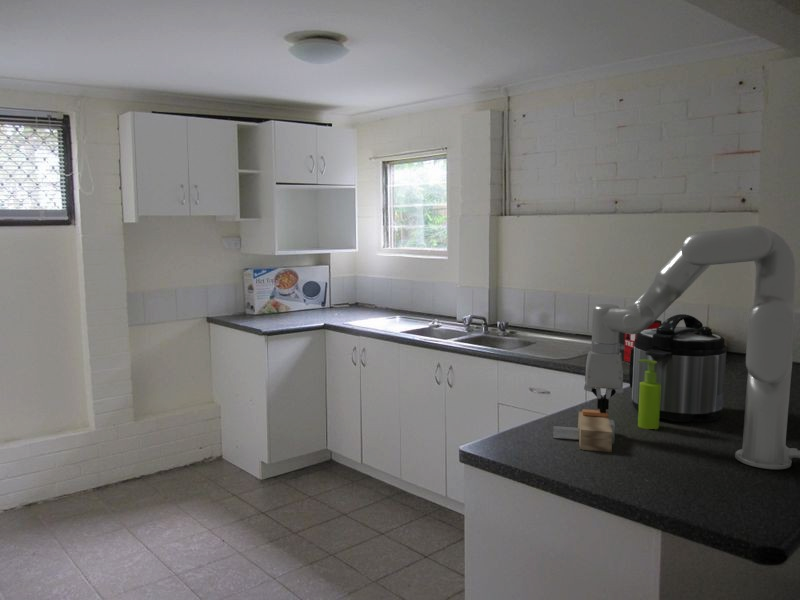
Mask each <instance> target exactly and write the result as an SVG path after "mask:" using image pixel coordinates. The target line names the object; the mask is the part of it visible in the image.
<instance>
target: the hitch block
mask: <svg viewBox="0 0 800 600" xmlns="http://www.w3.org/2000/svg"><path fill="white" fill-rule="evenodd" d="M577 416H578V417H577V420H578V421H577V428H580V433H579V440H578V441H579V449H582V451H583V450H585V451H593V450H594V451H595V452H596V451H597V452H606V453H607V452H608V453H612V449H613V448H612V446H613V444H612V429H611V425H610V422H609V420H610V419H609V416H608V417H601V416H587V415H583V413H582V411H578V415H577Z"/></svg>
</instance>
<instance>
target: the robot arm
mask: <svg viewBox="0 0 800 600" xmlns="http://www.w3.org/2000/svg"><path fill="white" fill-rule="evenodd" d="M747 262H754V264H755V269H756V270H755V271H756V273H755V289H754V302H753V305H752V307H751V309H750V311H749V315H748V319H747V321H748V322H747V323H748V324H747V332H746V333H747V334H746V335H747V337H746V348H745V349H746V351H745V368H746V370H747V377H746V379H747V380H746V393H745V405H744V416H743V417H744V421H743V436H742V447H741V449H738V450H737V451H735V453H734V457H735V459H736V460H737V461H739V462H741V463H743V464H744V465H747V466H751V467H755V468H759V469H766V470H785V469H788V468H790V467H792V459H794V458H795V459H800V450H798V448H794V447H791V448H790V447H788V446H787V445H786V442H787V433H788V432H787V430H788V417H789V404H790V393H791V379H792V370H793V369H792V368H793V345H794V344H793V343H794V342H793V341H794V328H795V320H796V319H795V318H796V314H795V313H796V311H795V290H796V286H795V285H796V283H795V282H796V262H795V257H794V254H793V251H792V249H791V247H790V245H789V244H788V243H787V242H786V240H785V239H784V238H783V237H782V236H780V234H778V233H776V232H774V231H772V230H771V229H769V228H766V227H765V226H761V225H748V226H747V225H746V226H740V227H731V228H724V229H715V230H706V231H705V230H703V231H700V230H699V231H694V232H692V233H690V234H689V235H688V236H687V237H685V239H684V240H683V241H682V245H681V246H680V248H679V249H678V250H677V251H676V252H675V254H673V255H672V256H671V258H669V260H668V261H667V262H666V263H665V264H664V265H663V266H662V267H660V269H659V270H658V271H657V273H656V274H655V277H654V279H653V282H651V284H650V286H649V287H648V288H647V289H646V290H645V292H644V293H643V294H642V295H641V296H640V297H639V298H638V299H637V300H636V301H635V302H634V303H633V304H632V305H630V306H627V307H620V306H619V305H617V304H609V303H603V304H602V303H600V304H596V305H594V306H593V308H592V323H591V324H592V326H591V327H592V328H591V350H589V351H587V352H588V353H587V357H586V363H585V375H584V381H585V383H584V387H583V389H584V391H587V392H589V393H590V392H591V393H593V394H594V396H595V397H596V398H597V401H596V402H597V403H596V407H597V409H596V410H600V413H602V412H604V413H606V411H607V410H609V407H610V405H609V403H610V401H609V400H610V399H611V398H612V397H613V396H614V395H615V394H621V393H624V386H623V385H624V366H623V365H624V364H623V363H622V354H621V353H619V351H620V350H625V345H622V344H620V343H619V342H620V332H622V333H626V334H638V333H640V332H642V331H643V330H645V329H646V328H648V327H649V326H650V325H651V324H653V322H654V321H655V320H658V319H659V317H660V316H662V314H663V313H664V312H666V310H668V309H669V307H670V306H671V305H672V304H673V303H674V302H675V301H677V299H679V298H680V297H681V296H682V295H683V294H684V293H685V292H686V291H687V290H688V288H689V287H690V286H692V285H693V283H694V282H695V281H697V280H698V278H700V277H701V275H702V274H703V273H704V272H706V271H707V269H709V267H710V266H714V265H715V266H717V265H725V264H734V263H747ZM602 389H604V390H605V394H604V395H602V391H601V390H602Z"/></svg>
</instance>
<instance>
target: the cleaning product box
mask: <svg viewBox="0 0 800 600" xmlns="http://www.w3.org/2000/svg"><path fill="white" fill-rule="evenodd" d="M662 323H663V322H662V320H658V319H656V320H655V321H654V322H653V324H651V325H650V326H649V327H648V328H646V329H645V330H648V329H657V328H658V327H659V326H660V325H661V324H662ZM635 339H637V334H626V333H622V332H620V342H619V343H620V344H622V345H625V350H620V351H619V353H621V354H622V361H625V362H628V363H630V353H631V349H632V348H634V342H635Z"/></svg>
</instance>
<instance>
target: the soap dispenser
mask: <svg viewBox="0 0 800 600" xmlns="http://www.w3.org/2000/svg"><path fill="white" fill-rule="evenodd" d="M637 362H645V363H648V370H647V371H645V379H644V382H640V389H639V410H638V411H637V412H638V413H637V427H639V428H640V429H644V430H648V429H655V430H658V429H659V428H660V418H659V414H660V395H661V384H660V383H657V372H655V371H654V364H657V361H653V360H647V359H643V360H638V361H637Z"/></svg>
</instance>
